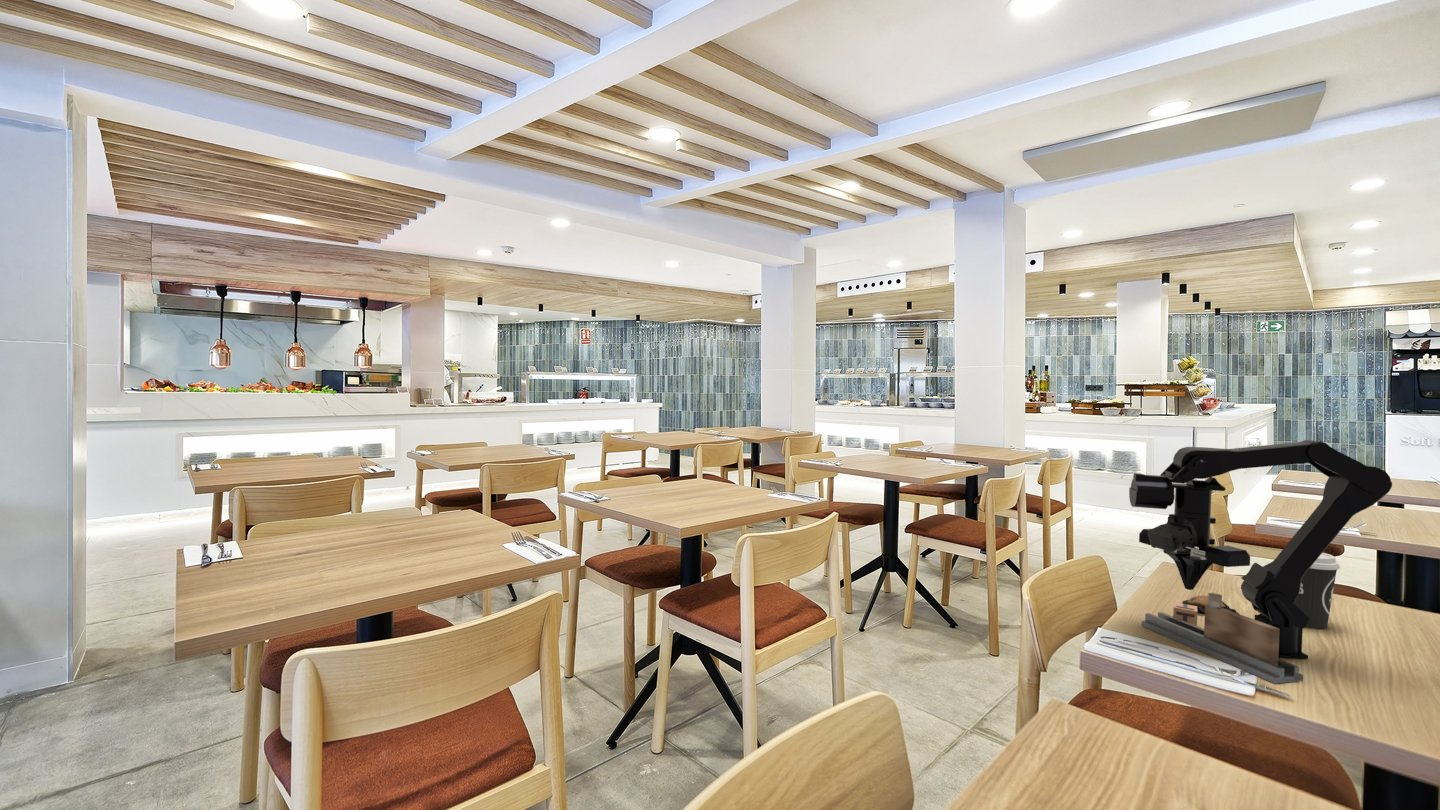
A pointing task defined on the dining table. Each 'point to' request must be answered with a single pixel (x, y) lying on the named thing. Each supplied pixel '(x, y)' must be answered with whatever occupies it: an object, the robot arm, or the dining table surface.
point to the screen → (1240, 631)
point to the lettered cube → (1185, 613)
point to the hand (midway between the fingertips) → (1189, 589)
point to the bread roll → (1202, 601)
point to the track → (1221, 649)
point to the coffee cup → (1318, 591)
